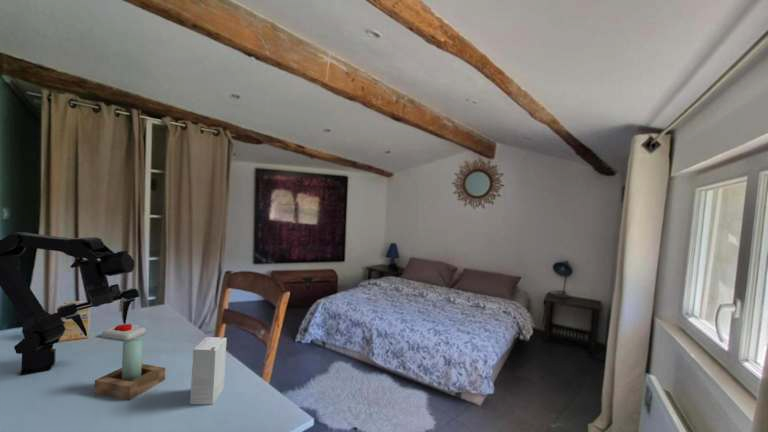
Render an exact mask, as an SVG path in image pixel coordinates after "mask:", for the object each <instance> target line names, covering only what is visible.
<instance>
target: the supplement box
mask: <svg viewBox="0 0 768 432" xmlns="http://www.w3.org/2000/svg"><path fill="white" fill-rule="evenodd" d="M85 302H87V300H78V301H62V302H61V304H59V306H63V305H67V304H71V303H75V304H76V305H77V304H81V303H85ZM78 313H79V314H80V317H81V319H82V322H83V324H84V327H85V329H86V332H87V336H85V335H84V333H83V332H82V331H81V329H80V328H79V326H78V325H77V324H76V323H75V322H74V321H73V320H72V319H66V318H65V317H63V318H61V319H62V321H64V322H65V324H64V326H65V330H64V334H63V335H62V336H61V337H60V339H59V342H66V341H73V340H81V339H82V340H83V339H88V338H89V336H90V333H91V330H90V329H91V316H92V315H91V313H92V307H90V308H86V309H82V310H79V311H78Z"/></svg>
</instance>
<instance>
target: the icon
mask: <svg viewBox="0 0 768 432" xmlns="http://www.w3.org/2000/svg"><path fill="white" fill-rule="evenodd" d="M146 331H147V330H146V328H145V327H140V326H139V325H138V324H130V323H126V324H119V325H116V326H113V327H111V328H107V329H104V330H103V331H102V333H101V336H102V338H105V339H112V340H120V341H123V342H124V341H127V340H130V339H137V338H139V337H141V336H144V335H145V334H146V333H147V332H146Z"/></svg>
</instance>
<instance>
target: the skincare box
mask: <svg viewBox="0 0 768 432" xmlns="http://www.w3.org/2000/svg"><path fill="white" fill-rule="evenodd" d="M227 342H228V340H227V337H216V336H215V337H212V336H205V337H204V339H202V341H200V342H199V343H198V344H197V345H196V346H195V347H193V348H194V349H193V350H192V365H191V366H192V369H191V385H190V402H189V404H191V405H214V403H215V402H216V400H217V399H218V397H219V396H220V394H221V393H222V391H223V390H224V388H225V374H226V371H225V370H226V353H227Z"/></svg>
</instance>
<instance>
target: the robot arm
mask: <svg viewBox="0 0 768 432" xmlns="http://www.w3.org/2000/svg"><path fill="white" fill-rule="evenodd" d="M27 248H29V249H38V250H45V251H55V252H60V253H64V255H66V256H69V257H73V258H76V259H75V260H74V261H73V263H72V264H71V265H70V268H71V269H73V268H77V267H78V268H79V272H80V278H81V281H82V286H83V290H84V291H83V292H84V295H85V299H86V300H85V301H87V302H85V303H81V304H77V305H76V304H75V303H71V304H67V305H63V306H60V305H59V306H58V307H57V308H56V312H54V313H50V312H47V311H46V310H45V309H44V307H43V306H42V304H41V302H40V301H39V300H38V298H37V297H36V295H35V294H34V293H33V291H32V289H31V288H30V285H29V284H28V283H27V281H26V280H25V278H24V276H23V275H22V274H21V272H20V271H19V269H20V262H21V261H20V259H19V256H21V255H22V254H23V253H25V251H26V249H27ZM134 269H135V260H134V259H133V257H132V255H130V254H128V250H121V251H117V252H114V251H113V250H112V249H110V248H109V247H108V246H107V245H106V244H105V243H104V242H103V240H102V238H100V237H97V236H89V237H85V236H84V237H71V238H69V237H65V236H64V237H63V236H56V235H55V236H54V235H47V234H38V233H31V232H28V231H21V232H12V233H10V234H8V235H6V236H4V238H2V239H0V288H1V290H2V291H3V293H4V294H5V296H6V297H7V299H8V300H9V301H10V303H11V305H12V306H13V308H14V309H15V310H16V312H17V313H18V316H19V317H20V319H21V320H22V321H23V323H22V329H21V333H22V335H23V338H22V340H20V341H19V342H18V343H17V344H15V345H14V347H13V348H14V351H15V353H16V355H17V354H21V370H20V372H19V376H21V375H28V374H33V373H40V372H45V371H46V372H47V371H50V370H51V369H52V367H53V366H55V363H56V355H57V354H56V353H57V349H56V348H54V345H55V344H58V343H59V342H60V341H59V339H60V337H61V336H62V335H63V334H64V330H65V326H64V324H65V322H64V321H62V319H61V318H63V317H65V318H66V319H72V320H73V321H74V322H75V323H76V324H77V325H78V326H79V328H80V329H81V331H82V332H83V333H84V335H85V336H87V332H86V329H85V327H84V324H83V322H82V319H81V317H80V314H79V313H78V311H79V310H82V309H86V308H90V307H91V308H97V307H98V308H99V307H100V306H102V305H105V304H109V305H110V304H112V303H114V302H115V301H120V303H119V304H120V311H121V320H122V323H123V324H122V325H124V324H127V318H128V312H129V310H130V309H129V308H130V306H131V303H132V302H135V300H136V299H137V298H139V297H140V294H139V293H140V292H139V290H138V289H137V288H134V287H131V288H126V289H122V290H121V289H120V285H119V284H118V283H116V284H112V285H110V283H109V280H108V277H112V276H118V275H123V274H129V273H132V272H133V271H134ZM107 276H108V277H107Z"/></svg>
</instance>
